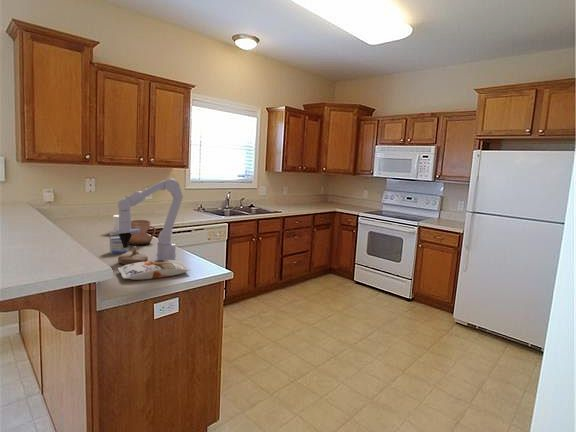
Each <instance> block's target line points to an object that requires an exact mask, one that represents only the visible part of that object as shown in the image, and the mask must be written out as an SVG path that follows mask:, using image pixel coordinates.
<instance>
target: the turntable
mask: <svg viewBox="0 0 576 432" xmlns="http://www.w3.org/2000/svg"><path fill="white" fill-rule="evenodd" d="M131 249H132V250H131V252H132V253H127V254H126V253H125V254H122V255H120V256H118V257H117V262H118V263H120V264H123V265H126V264H133V263H138V262H145V261H149V258H148V257H149V256H148V255H146V254H142V253H139V254H136V251H137V246H132V248H131Z"/></svg>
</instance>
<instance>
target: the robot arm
mask: <svg viewBox="0 0 576 432" xmlns="http://www.w3.org/2000/svg"><path fill="white" fill-rule="evenodd" d="M166 190H167V192H169V193H170V195H171V196H172V201H171V203H170V204H171V205H170V207H169V210H168V213H167V216H166V219H165V222H164V224H163V228H162V230H161V231H160V232H159V234H158V237H157V241H158V242H157V257H156V259H155V260H175V261H176V258H177V252H176V247H177V246H176V243H173V242H172V241H171V239H172V232H173V231H172V230H173V228H174V224H175V222H176V219H177V216H178V213H179V210H180V207H181V204H182V201H183V198H184V196H183V192H182V189H181V186H180V184H179V182H178V181H177V180H176V179H175V178H173V177H169V178H166V179H164V180H162V181H161V180H160V181H159V182H157V183H155V184H154V185H152V186H150V187H148V188H146V189H144V190H143V191H141V190H135V191H133V193H131V194H129V195H128V196H127V195H126V196H125V197H124V198H121V199H120V200H119V201H118V203H117V207H118V215H119V230H115V231H113V230H110V231H108V232H109V236H110V237H113V236H117V235H118V237H120V239H121V241H122V244H123V247H124V248H126V249H127V248H128V245H129V240H130V238H131V236H132V233H140V229H131V220H132V211H131V208H132V207H134V206H137V205H139V204H140V203H143V202H144V201H145V200H146V198H147V197H148V196H150V195H152V194H154V193H156V192H158V191H166Z"/></svg>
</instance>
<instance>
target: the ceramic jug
mask: <svg viewBox="0 0 576 432" xmlns="http://www.w3.org/2000/svg"><path fill="white" fill-rule="evenodd" d="M131 229H140V233H131V234H132V236H131V238H130V240H129V242H128V244H132V245H137V246H140V245H141V246H142V245H146V244H149V243H151V242H152V240H153V237H154V236H155V233H156V230H157V229H156V227H155V226H154V225H151V221H150V220H148V219H147V220H146V219H131ZM149 229H153V230H152V234H151V235H150V234H148V230H149Z"/></svg>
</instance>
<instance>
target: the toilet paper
mask: <svg viewBox="0 0 576 432" xmlns="http://www.w3.org/2000/svg"><path fill="white" fill-rule="evenodd" d="M112 220H113V221H112V222H113V224H112V227H113V229H112V231H115V230H119V214H114V215H112Z"/></svg>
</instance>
